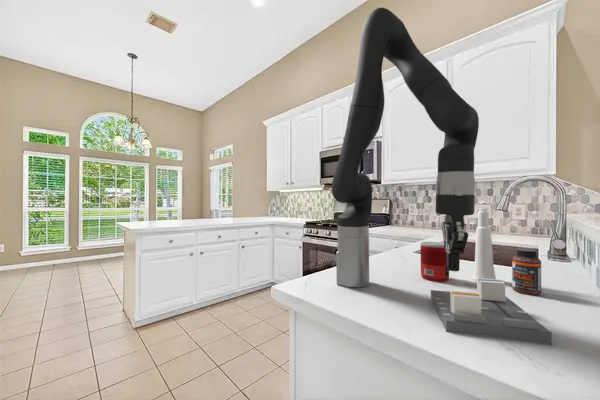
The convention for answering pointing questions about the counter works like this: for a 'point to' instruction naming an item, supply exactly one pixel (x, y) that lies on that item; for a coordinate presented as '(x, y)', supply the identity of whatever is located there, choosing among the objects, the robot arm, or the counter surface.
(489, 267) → the cosmetic bottle
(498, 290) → the fader
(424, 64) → the robot arm
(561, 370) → the counter surface
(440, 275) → the canned food
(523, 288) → the supplement bottle
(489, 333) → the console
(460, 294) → the fader
